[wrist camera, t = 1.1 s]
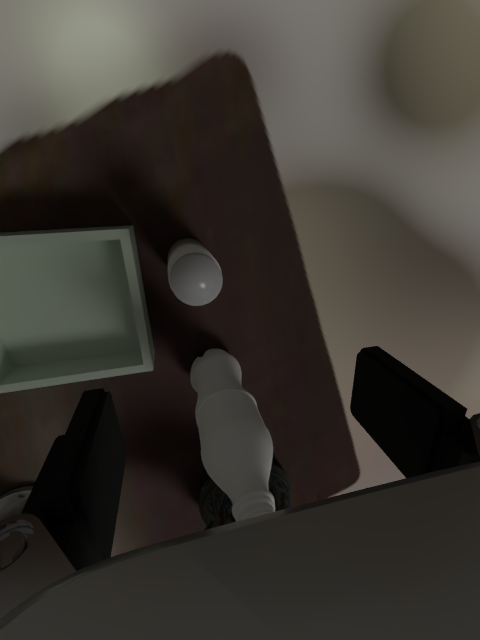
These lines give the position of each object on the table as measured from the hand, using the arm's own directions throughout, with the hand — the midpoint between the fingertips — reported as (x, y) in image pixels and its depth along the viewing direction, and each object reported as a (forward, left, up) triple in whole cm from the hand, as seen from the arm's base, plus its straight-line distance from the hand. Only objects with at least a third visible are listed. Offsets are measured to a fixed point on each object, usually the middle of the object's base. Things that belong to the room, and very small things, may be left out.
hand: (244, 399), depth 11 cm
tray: (-4, +15, -30) cm, 34 cm away
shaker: (0, 0, -30) cm, 30 cm away
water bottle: (-16, -2, -30) cm, 34 cm away
